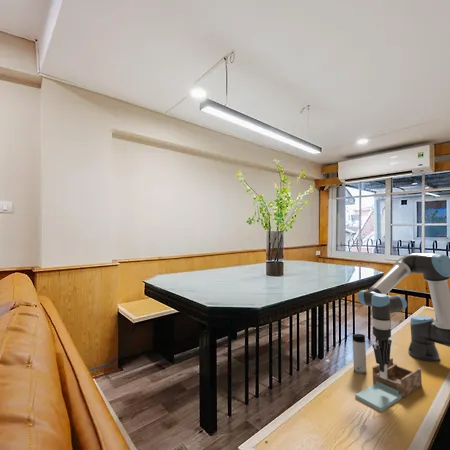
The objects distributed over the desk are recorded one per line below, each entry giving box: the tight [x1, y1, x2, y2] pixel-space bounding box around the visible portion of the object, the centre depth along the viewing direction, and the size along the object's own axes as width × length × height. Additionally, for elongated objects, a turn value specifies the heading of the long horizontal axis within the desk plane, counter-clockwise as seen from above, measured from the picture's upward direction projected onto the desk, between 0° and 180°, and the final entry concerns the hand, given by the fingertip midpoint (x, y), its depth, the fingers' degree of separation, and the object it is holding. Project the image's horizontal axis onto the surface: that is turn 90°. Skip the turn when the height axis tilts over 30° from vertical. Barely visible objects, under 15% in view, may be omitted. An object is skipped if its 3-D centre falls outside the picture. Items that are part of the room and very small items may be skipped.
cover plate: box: [354, 381, 403, 412], centre depth 125 cm, size 17×12×4 cm
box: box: [371, 357, 423, 400], centre depth 135 cm, size 18×14×8 cm
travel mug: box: [352, 333, 368, 375], centre depth 149 cm, size 6×7×20 cm
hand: (383, 377), depth 128 cm, fingers closed
